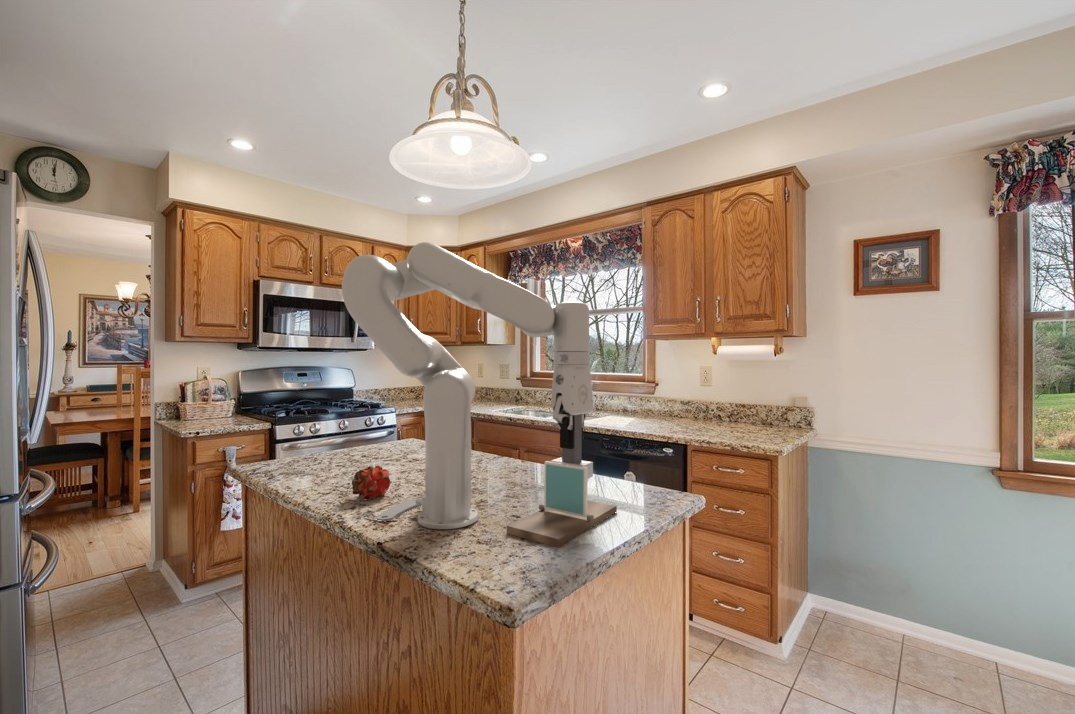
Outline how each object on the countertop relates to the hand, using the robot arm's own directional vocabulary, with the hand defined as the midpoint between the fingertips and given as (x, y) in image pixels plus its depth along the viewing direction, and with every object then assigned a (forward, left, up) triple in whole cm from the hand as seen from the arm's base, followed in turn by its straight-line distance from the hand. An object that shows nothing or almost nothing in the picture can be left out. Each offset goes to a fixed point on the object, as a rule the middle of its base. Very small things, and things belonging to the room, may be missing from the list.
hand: (571, 446), depth 101 cm
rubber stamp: (0, 0, -6) cm, 6 cm away
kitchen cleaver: (-36, -13, -16) cm, 42 cm away
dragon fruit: (-48, -14, -16) cm, 53 cm away
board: (0, -2, -16) cm, 16 cm away
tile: (0, -2, -8) cm, 9 cm away
